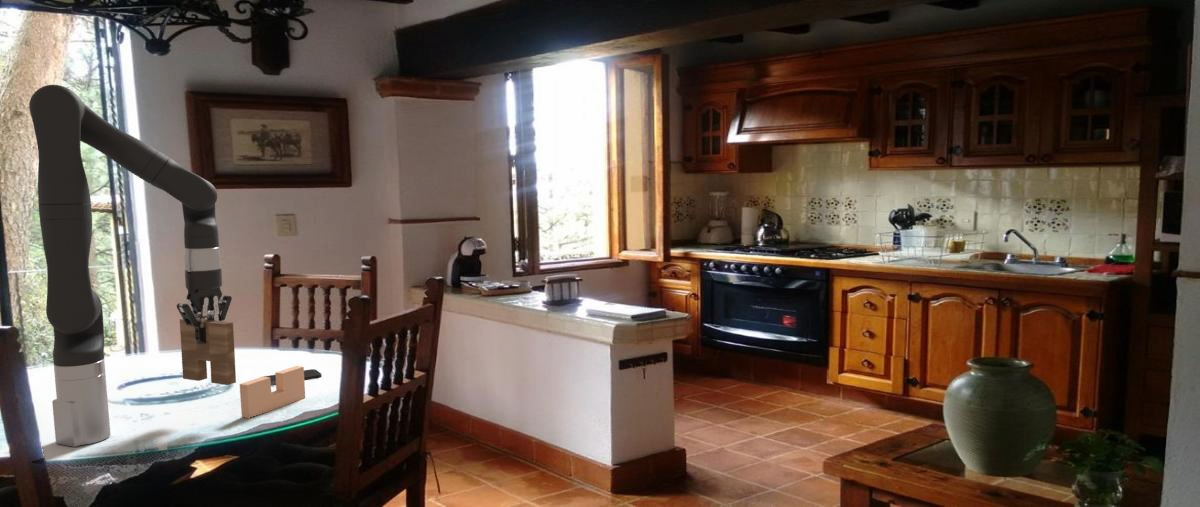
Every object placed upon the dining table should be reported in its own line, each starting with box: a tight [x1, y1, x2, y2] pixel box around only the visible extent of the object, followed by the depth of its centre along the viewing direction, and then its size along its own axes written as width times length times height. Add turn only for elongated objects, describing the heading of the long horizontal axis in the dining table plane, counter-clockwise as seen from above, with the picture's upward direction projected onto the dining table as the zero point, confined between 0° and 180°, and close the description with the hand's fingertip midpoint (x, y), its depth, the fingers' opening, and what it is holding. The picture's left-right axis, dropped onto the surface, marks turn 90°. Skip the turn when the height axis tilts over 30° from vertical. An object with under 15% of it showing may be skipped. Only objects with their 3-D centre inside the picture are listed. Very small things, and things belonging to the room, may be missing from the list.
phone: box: [262, 368, 322, 386], centre depth 227 cm, size 8×1×15 cm
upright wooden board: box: [179, 318, 237, 386], centre depth 189 cm, size 2×14×14 cm, turn 67°
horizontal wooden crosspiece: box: [239, 365, 306, 419], centre depth 200 cm, size 18×2×8 cm, turn 157°
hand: (207, 341), depth 189 cm, fingers closed on upright wooden board, 2 cm apart
